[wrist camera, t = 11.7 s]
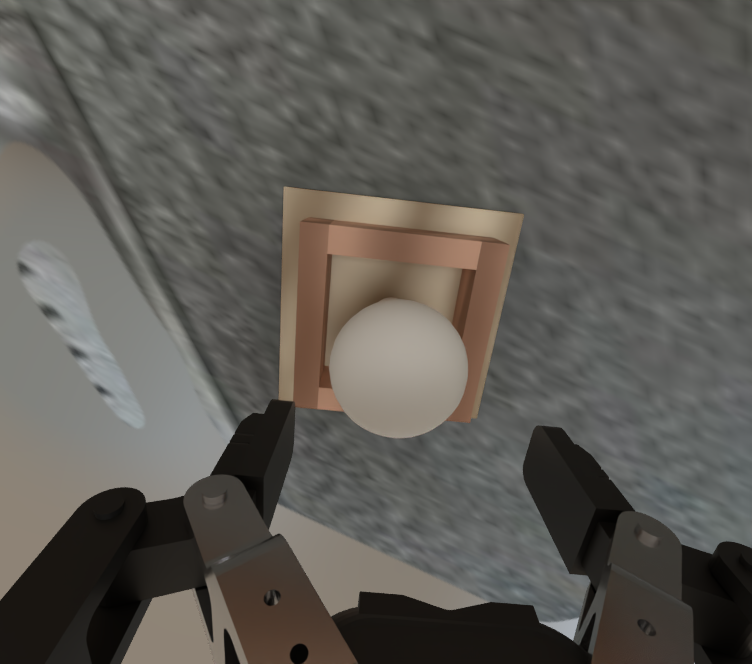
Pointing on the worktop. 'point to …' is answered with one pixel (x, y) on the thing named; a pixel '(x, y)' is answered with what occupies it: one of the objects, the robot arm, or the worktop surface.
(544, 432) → the robot arm
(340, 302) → the socket stand
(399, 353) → the lightbulb
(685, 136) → the worktop surface
